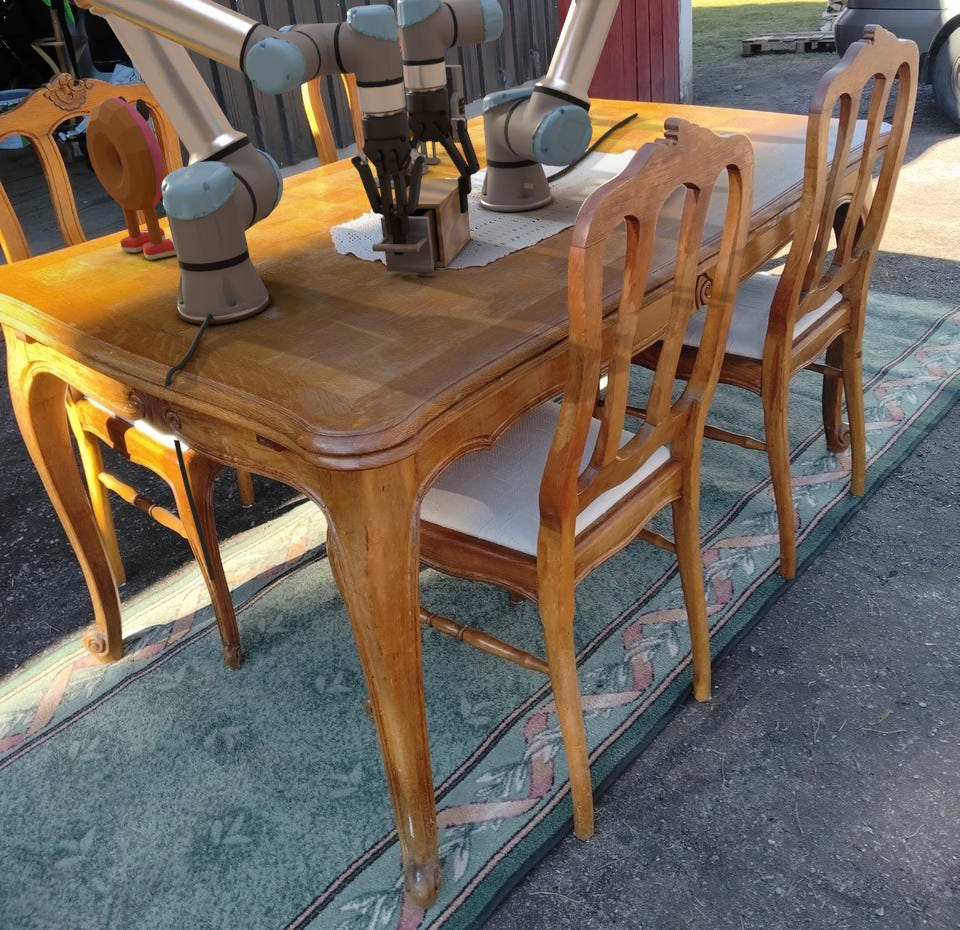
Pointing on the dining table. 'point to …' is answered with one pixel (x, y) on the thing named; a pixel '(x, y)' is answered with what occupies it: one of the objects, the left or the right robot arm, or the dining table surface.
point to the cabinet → (445, 216)
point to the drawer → (413, 244)
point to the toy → (130, 170)
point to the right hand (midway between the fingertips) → (438, 210)
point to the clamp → (455, 110)
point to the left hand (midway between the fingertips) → (400, 252)
